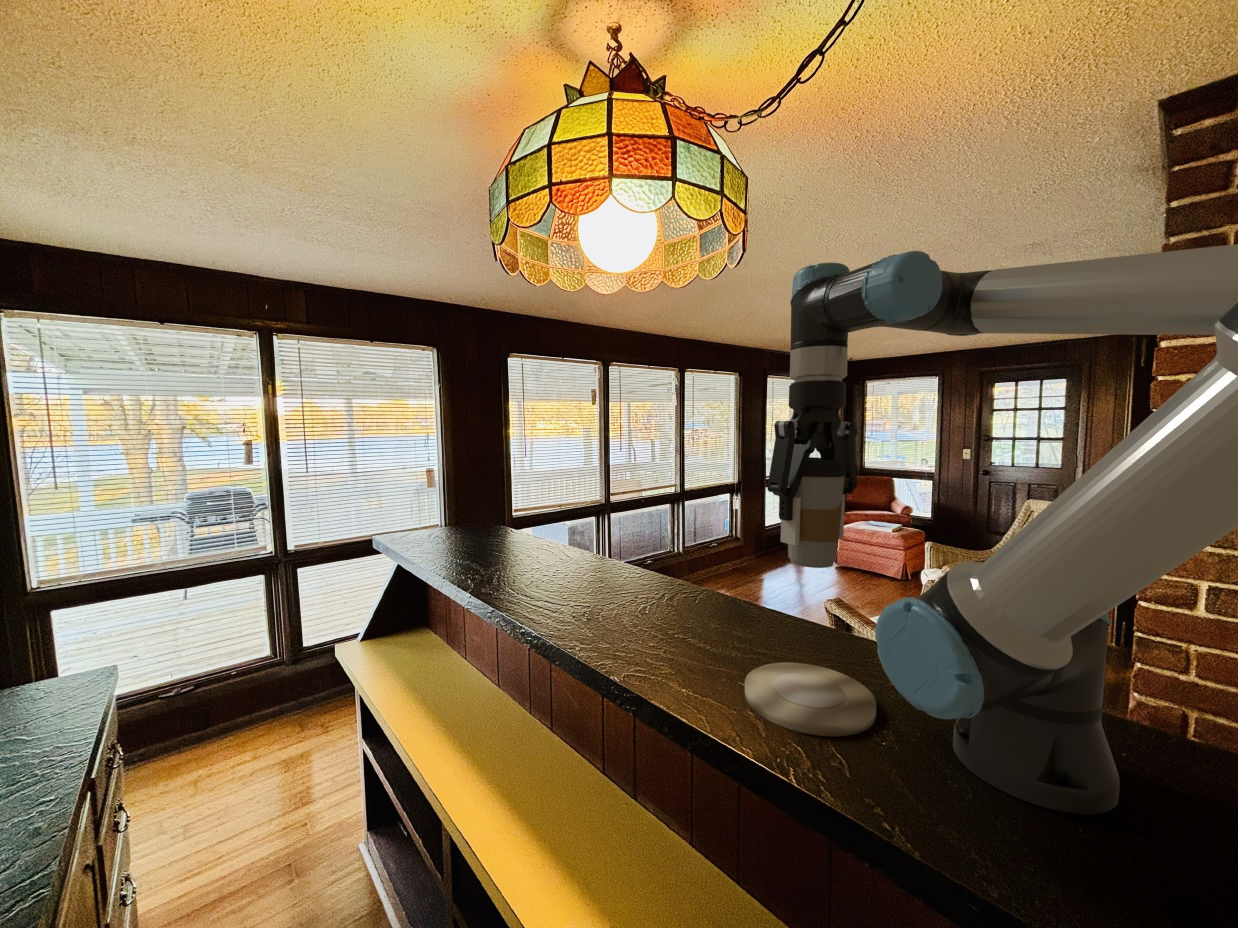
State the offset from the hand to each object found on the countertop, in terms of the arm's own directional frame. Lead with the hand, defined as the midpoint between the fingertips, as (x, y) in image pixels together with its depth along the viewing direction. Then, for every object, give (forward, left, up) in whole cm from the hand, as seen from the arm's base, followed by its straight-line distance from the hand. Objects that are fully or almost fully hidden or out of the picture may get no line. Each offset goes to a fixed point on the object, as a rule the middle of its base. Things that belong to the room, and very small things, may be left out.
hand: (812, 540), depth 74 cm
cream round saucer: (0, 0, -24) cm, 24 cm away
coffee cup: (0, 0, -4) cm, 4 cm away
